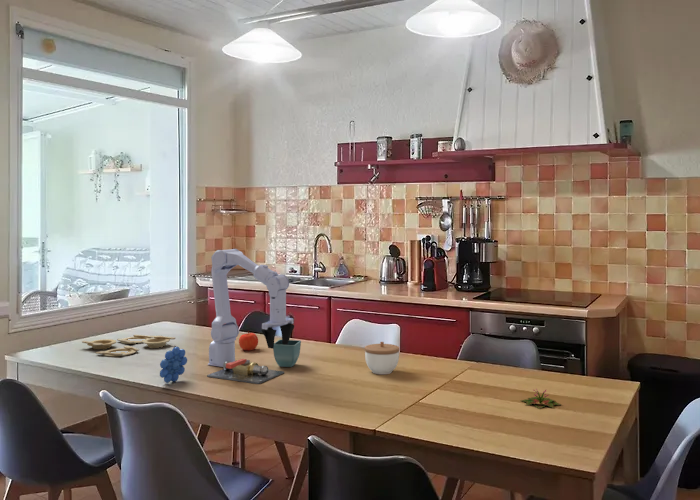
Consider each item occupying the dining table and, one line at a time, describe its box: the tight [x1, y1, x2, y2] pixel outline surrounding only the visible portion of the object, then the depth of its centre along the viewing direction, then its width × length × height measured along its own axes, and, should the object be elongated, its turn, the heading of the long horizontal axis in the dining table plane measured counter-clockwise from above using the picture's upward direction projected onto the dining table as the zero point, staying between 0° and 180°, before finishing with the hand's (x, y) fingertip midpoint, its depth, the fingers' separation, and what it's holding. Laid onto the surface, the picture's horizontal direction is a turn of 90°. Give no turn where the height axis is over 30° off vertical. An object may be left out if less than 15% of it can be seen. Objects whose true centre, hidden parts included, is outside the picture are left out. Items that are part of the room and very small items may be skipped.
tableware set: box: [81, 334, 176, 358], centre depth 270 cm, size 35×29×4 cm
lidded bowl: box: [364, 341, 400, 375], centre depth 227 cm, size 13×13×11 cm
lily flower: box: [519, 388, 562, 409], centre depth 190 cm, size 12×12×5 cm
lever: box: [226, 358, 251, 369], centre depth 221 cm, size 11×3×2 cm, turn 154°
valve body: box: [206, 361, 285, 385], centre depth 223 cm, size 22×16×4 cm
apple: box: [238, 330, 259, 352], centre depth 264 cm, size 8×8×8 cm
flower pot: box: [272, 339, 302, 368], centre depth 236 cm, size 9×9×9 cm
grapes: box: [159, 346, 188, 384], centre depth 215 cm, size 12×7×12 cm, turn 147°
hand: (278, 346), depth 225 cm, fingers open, 7 cm apart
